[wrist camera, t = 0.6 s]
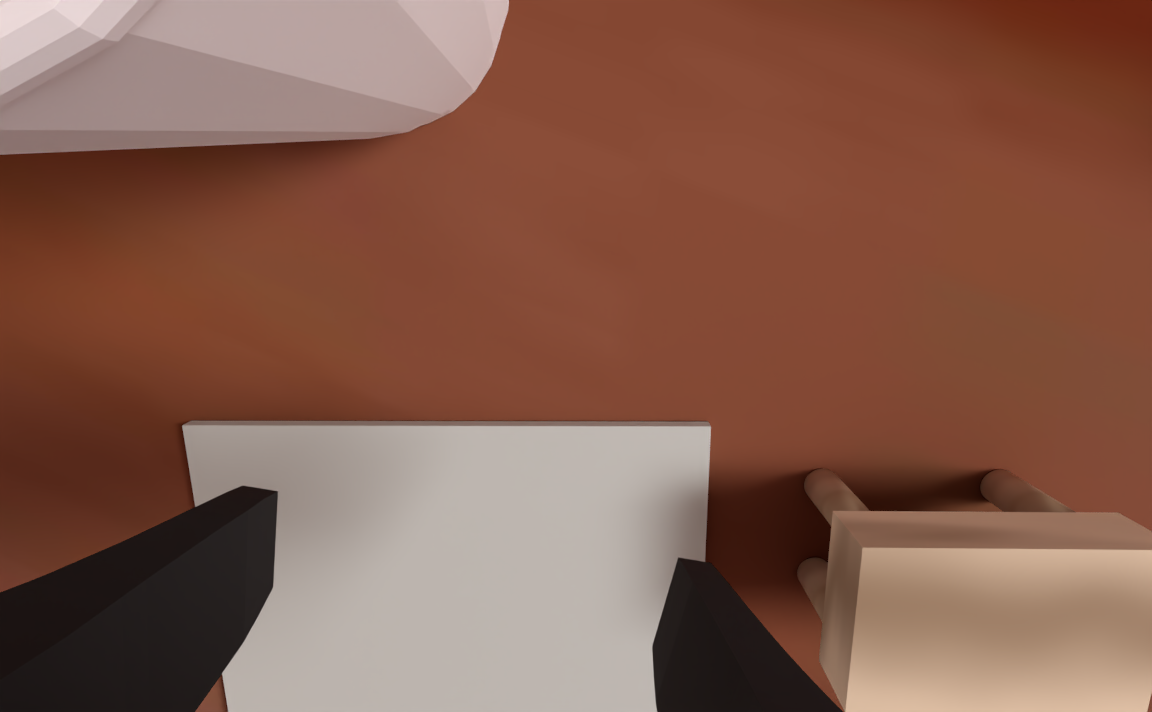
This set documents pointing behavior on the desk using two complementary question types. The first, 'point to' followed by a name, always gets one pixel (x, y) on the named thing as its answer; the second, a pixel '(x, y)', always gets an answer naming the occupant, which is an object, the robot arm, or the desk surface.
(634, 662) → the mat
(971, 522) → the tan plank with pegs
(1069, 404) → the desk surface
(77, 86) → the cup
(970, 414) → the desk surface
